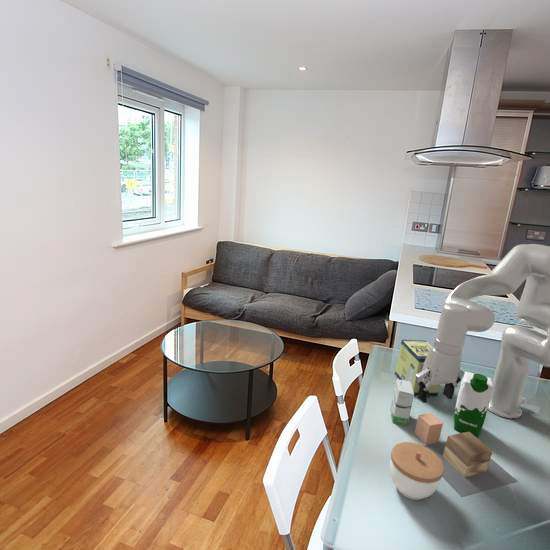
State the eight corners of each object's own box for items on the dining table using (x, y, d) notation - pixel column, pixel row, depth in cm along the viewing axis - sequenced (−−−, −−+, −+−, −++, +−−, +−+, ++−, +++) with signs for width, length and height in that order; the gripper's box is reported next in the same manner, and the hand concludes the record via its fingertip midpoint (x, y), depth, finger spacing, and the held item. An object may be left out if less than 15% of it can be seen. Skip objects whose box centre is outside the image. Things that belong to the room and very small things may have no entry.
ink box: (407, 426, 123) (415, 394, 120) (392, 423, 124) (398, 391, 120) (404, 411, 131) (411, 380, 128) (389, 408, 132) (396, 377, 129)
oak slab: (463, 451, 113) (466, 441, 112) (486, 471, 106) (489, 461, 105) (442, 456, 111) (445, 446, 110) (464, 477, 103) (467, 466, 102)
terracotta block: (426, 431, 121) (431, 413, 119) (438, 442, 117) (443, 423, 115) (414, 434, 120) (418, 415, 118) (425, 445, 115) (429, 425, 113)
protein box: (417, 374, 157) (425, 339, 153) (438, 396, 142) (447, 359, 138) (394, 373, 155) (401, 339, 151) (412, 396, 140) (420, 358, 136)
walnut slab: (466, 441, 112) (469, 431, 111) (489, 461, 105) (492, 450, 104) (445, 446, 110) (447, 435, 109) (467, 466, 102) (470, 455, 101)
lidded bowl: (431, 518, 90) (441, 480, 87) (379, 491, 96) (386, 455, 93) (440, 484, 101) (449, 449, 98) (392, 462, 107) (400, 429, 104)
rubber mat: (465, 438, 120) (466, 437, 120) (517, 482, 104) (518, 481, 104) (414, 448, 113) (414, 447, 113) (461, 498, 97) (461, 496, 97)
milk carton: (450, 431, 123) (465, 376, 117) (451, 416, 131) (464, 363, 125) (481, 441, 119) (497, 384, 114) (479, 425, 127) (494, 371, 122)
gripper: (460, 339, 116) (447, 389, 120) (414, 342, 110) (402, 394, 114) (480, 350, 109) (466, 402, 114) (433, 354, 103) (419, 409, 108)
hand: (434, 398), depth 114 cm, fingers open, 9 cm apart
